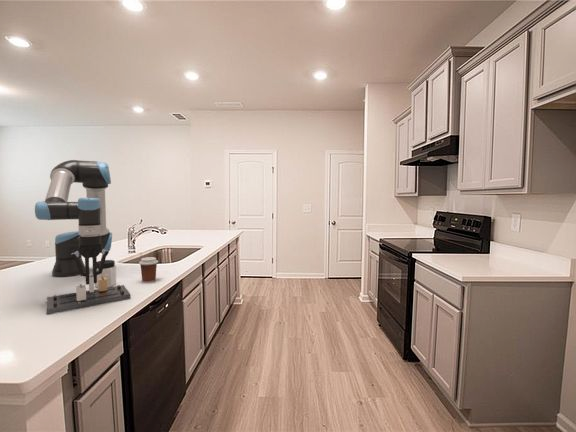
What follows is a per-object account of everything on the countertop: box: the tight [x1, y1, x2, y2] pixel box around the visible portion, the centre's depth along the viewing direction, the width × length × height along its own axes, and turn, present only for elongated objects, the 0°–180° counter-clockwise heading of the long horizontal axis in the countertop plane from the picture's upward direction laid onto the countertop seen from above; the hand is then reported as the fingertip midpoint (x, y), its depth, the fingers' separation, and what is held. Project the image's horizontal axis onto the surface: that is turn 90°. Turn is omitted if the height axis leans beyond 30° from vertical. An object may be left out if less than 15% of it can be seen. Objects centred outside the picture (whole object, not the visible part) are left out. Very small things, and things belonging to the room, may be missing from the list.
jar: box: [94, 259, 117, 288], centre depth 141 cm, size 9×8×12 cm
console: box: [46, 284, 131, 315], centre depth 122 cm, size 16×28×3 cm, turn 129°
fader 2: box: [97, 277, 108, 292], centre depth 128 cm, size 4×3×6 cm
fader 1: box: [75, 283, 87, 301], centre depth 116 cm, size 4×3×6 cm
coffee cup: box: [138, 256, 159, 284], centre depth 150 cm, size 9×9×12 cm
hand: (91, 291), depth 119 cm, fingers closed
